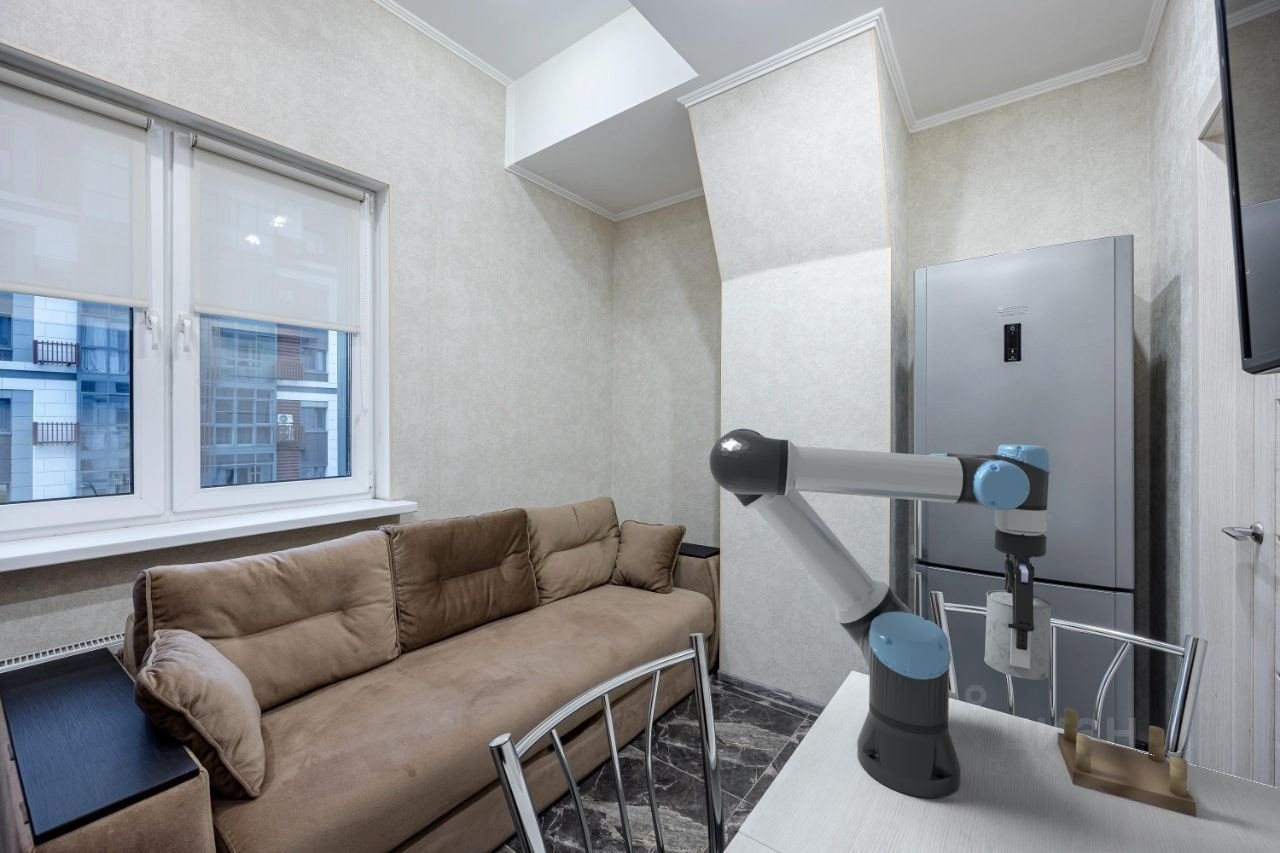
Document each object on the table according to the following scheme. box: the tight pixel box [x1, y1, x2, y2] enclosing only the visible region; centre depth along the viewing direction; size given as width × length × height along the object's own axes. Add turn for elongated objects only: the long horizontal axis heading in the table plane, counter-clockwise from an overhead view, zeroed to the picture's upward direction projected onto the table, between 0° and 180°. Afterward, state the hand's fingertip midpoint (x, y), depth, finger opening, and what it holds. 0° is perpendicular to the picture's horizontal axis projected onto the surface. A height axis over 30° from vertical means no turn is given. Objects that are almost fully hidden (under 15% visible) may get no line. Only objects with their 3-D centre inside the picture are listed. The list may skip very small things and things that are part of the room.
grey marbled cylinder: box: [983, 589, 1052, 681], centre depth 96 cm, size 10×10×12 cm
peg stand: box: [1057, 707, 1197, 818], centre depth 86 cm, size 14×12×7 cm
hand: (1015, 654), depth 96 cm, fingers closed on grey marbled cylinder, 9 cm apart
